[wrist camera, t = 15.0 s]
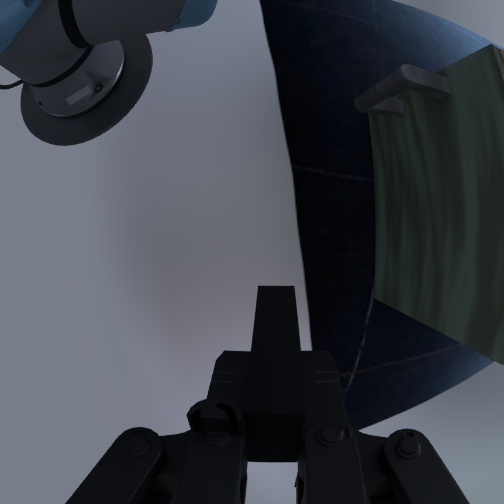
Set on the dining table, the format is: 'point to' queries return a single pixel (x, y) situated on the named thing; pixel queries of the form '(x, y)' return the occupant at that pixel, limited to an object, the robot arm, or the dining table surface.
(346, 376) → the dining table surface
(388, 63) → the dining table surface
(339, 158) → the dining table surface
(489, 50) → the cupboard door
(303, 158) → the dining table surface
